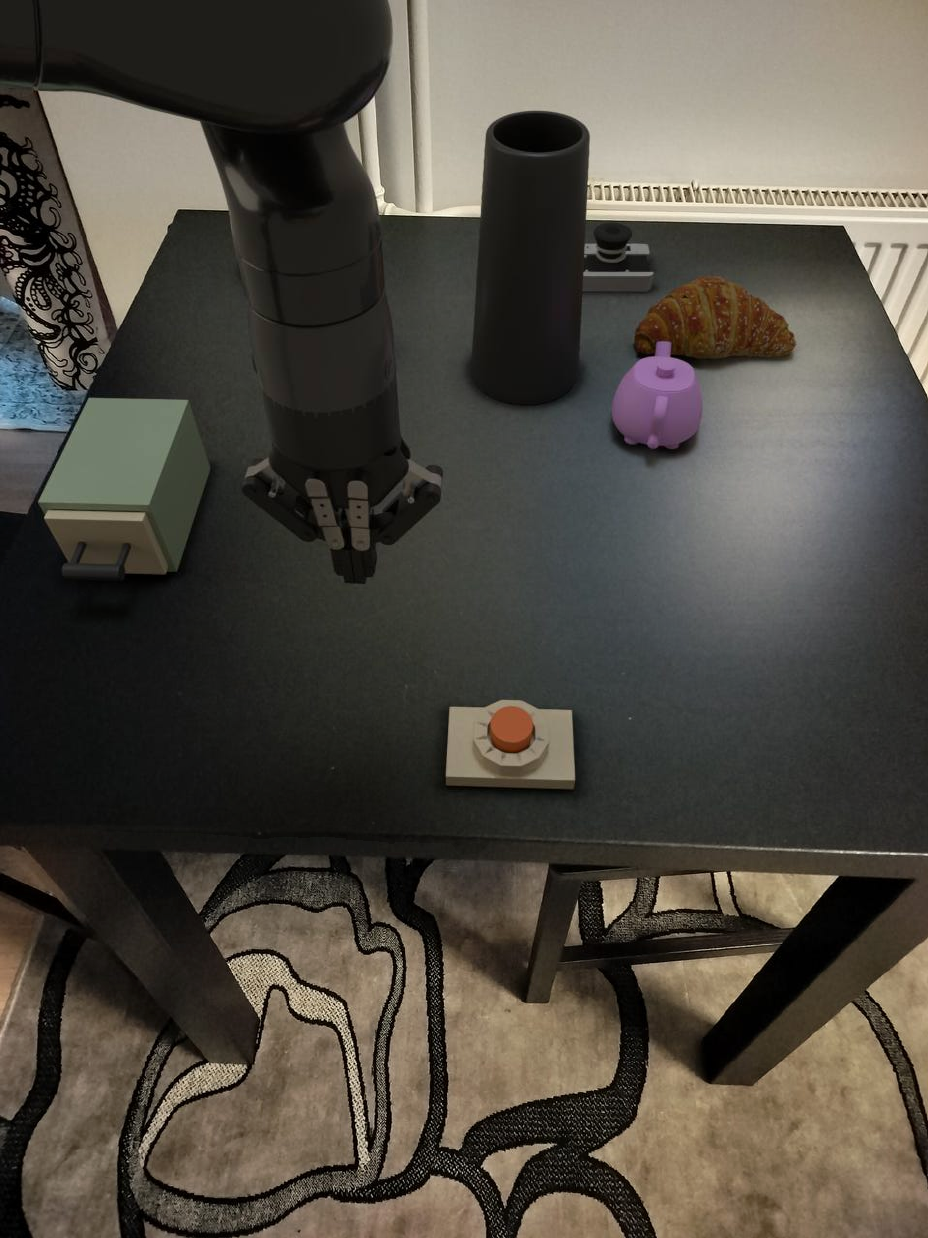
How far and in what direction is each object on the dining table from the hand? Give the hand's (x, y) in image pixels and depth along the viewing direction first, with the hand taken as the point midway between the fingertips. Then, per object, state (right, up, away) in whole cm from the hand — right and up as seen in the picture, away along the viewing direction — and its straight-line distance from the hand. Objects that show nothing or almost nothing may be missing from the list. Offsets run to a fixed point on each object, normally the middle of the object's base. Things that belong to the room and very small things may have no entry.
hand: (356, 574), depth 60 cm
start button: (+12, -13, +14) cm, 22 cm away
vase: (+15, +28, +50) cm, 59 cm away
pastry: (+40, +34, +53) cm, 75 cm away
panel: (+12, -15, +16) cm, 25 cm away
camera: (+26, +47, +64) cm, 83 cm away
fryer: (-27, +8, +34) cm, 45 cm away
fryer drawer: (-28, +6, +31) cm, 42 cm away
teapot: (+30, +20, +43) cm, 56 cm away
